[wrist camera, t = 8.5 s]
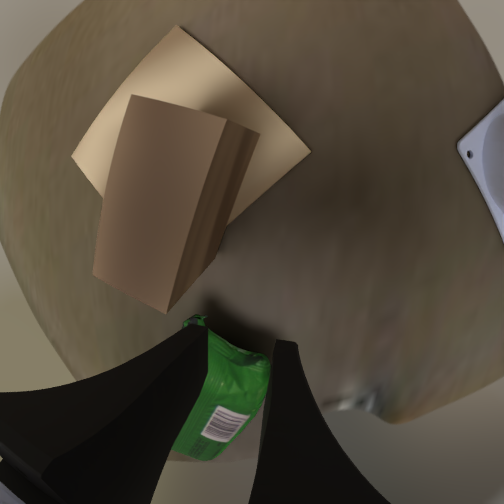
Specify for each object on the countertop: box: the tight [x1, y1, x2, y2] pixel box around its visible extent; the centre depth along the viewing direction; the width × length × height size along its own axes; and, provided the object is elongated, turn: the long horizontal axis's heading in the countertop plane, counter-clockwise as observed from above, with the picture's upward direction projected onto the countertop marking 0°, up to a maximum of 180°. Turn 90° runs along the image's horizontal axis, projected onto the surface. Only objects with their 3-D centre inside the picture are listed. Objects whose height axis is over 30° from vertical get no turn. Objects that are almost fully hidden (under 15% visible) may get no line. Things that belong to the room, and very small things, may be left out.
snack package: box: [171, 314, 271, 461], centre depth 20 cm, size 7×16×5 cm, turn 156°
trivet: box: [72, 25, 311, 226], centre depth 17 cm, size 12×12×1 cm
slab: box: [93, 94, 260, 314], centre depth 14 cm, size 4×8×7 cm, turn 159°
